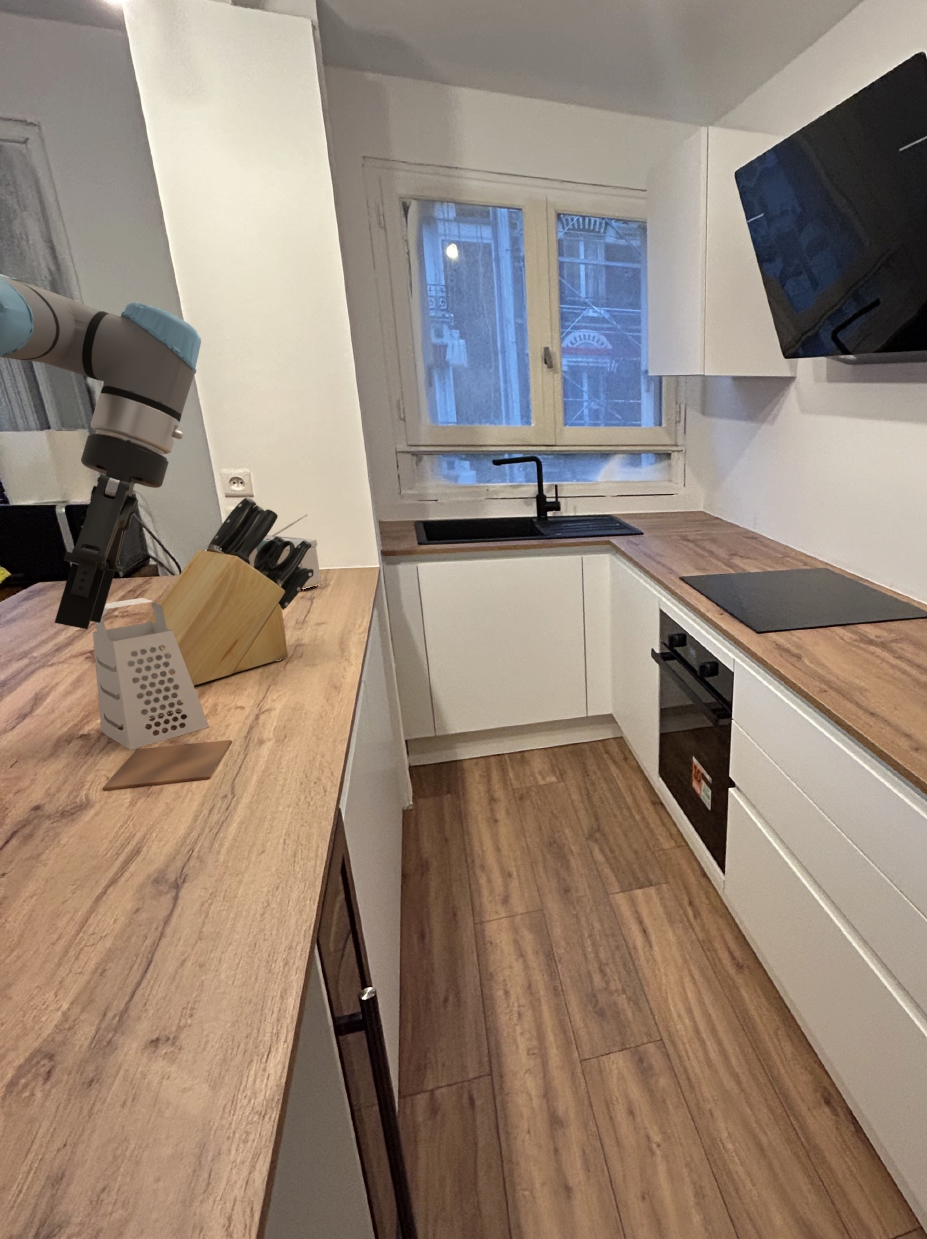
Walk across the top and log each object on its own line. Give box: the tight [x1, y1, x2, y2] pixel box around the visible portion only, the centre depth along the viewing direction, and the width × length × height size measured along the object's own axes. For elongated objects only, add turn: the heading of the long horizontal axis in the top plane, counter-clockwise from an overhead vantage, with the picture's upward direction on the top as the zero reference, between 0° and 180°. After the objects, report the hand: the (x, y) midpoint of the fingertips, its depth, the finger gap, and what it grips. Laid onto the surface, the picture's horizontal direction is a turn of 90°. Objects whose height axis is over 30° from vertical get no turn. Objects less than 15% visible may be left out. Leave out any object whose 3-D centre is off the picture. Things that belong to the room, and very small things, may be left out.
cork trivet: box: [102, 739, 233, 791], centre depth 101 cm, size 12×12×1 cm
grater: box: [92, 597, 210, 751], centre depth 108 cm, size 10×10×20 cm
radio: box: [249, 513, 322, 588], centre depth 199 cm, size 21×8×20 cm, turn 72°
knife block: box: [145, 496, 314, 687], centre depth 134 cm, size 11×35×31 cm, turn 155°
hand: (79, 623), depth 82 cm, fingers open, 13 cm apart
